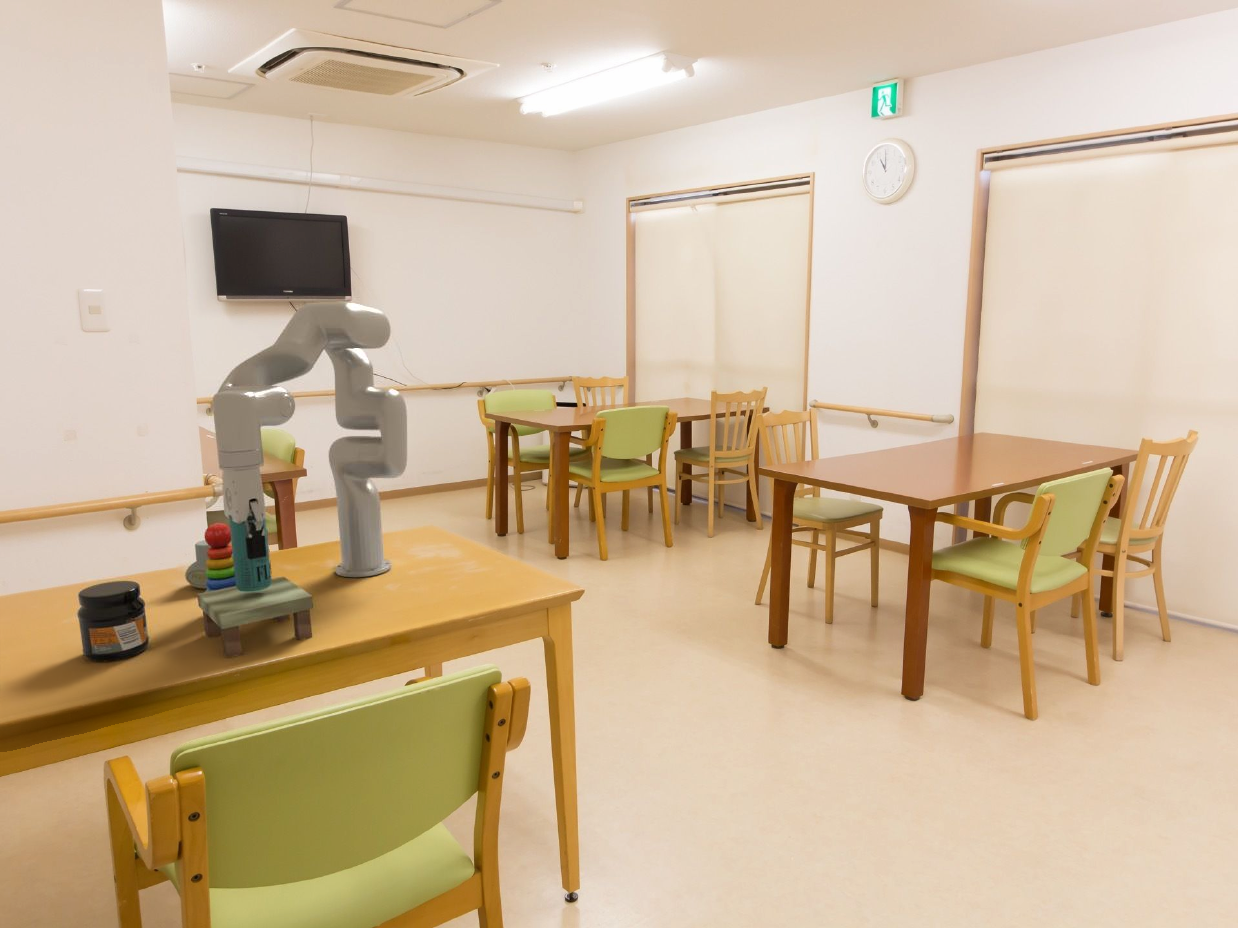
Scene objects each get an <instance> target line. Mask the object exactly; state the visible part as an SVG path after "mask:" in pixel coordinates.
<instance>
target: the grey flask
mask: <svg viewBox="0 0 1238 928" xmlns="http://www.w3.org/2000/svg"><path fill="white" fill-rule="evenodd" d="M209 548H211V546H209V545H208V544H207V542H206V541H205V539H204V540H199V541H198V542H196V543H195V544H194V549H195V560H196V561H195V562H194V561H193V562H192V563H191V564H190V565H189V566H188V567H187V569H186V570H185V572H184V573H185V574H184V576H185V580H186V582H187V583H189V584H190V585H191V586H192V587H195V588H199V589H201V590H204V589H207V588H208V586H207V585H206V580H207V579H208V578H209V577H207V575H206V570H207V569H208V567H207V566H206V561H207V560H208V559H209V557H208V556H207V550H208V549H209Z"/></svg>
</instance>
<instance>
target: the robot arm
mask: <svg viewBox="0 0 1238 928" xmlns="http://www.w3.org/2000/svg"><path fill="white" fill-rule="evenodd" d="M391 332H392V331H391V324H390V321H389V319H388V317H387V316H386V314H385V313H384V312H383V311H381V310H380V309H377V308H373V307H369V306H364V305H362V304H358V303H354V302H346V301H344V302H343V301H337V302H336V301H334V302H333V301H332V302H330V301H329V302H328V301H327V302H325V301H324V302H310V303H306V304H303V305H301V306H300V307H298V308H297V310H296V311H295V312H294V314H293V316H292V317H291V318H290V320H289V321H288V323H287V324H286V326H285V327H284V329H283V330H282V332H281V333H280V334H279V336H278V337H277V339H276V341H275V342H274V344H272V345H270V346H268V347H266V348H265V349H262V350H261V351H259V352H257V353H256V354H254V355H252V356H250V357H249V358H246V359H245V360H244V361H241V362H240V363H239V364H238V365H237V366H235V368H233V369H232V370H231V371H230V372H229V373H228V375H227V376H226V377H225V379H224V380H223V382H222V383H221V385H220V387H219V388H218V391H217V392H216V393H215V394H214V395H213V397H212V402H211V403H212V410H213V411H212V412H213V420H214V421H213V423H214V431H215V432H214V433H215V442H216V450H217V459H218V468H219V470H221V471H222V496H223V497H222V498H223V499H222V500H223V511H224V516H225V517H226V518H227V519H229V517H228V516H229V515H231V516H232V519H233V520H232V521H234V522H235V523H237V524H242V522H244V525H245V529H246V533H247V538H246V548H247V557H248V559H255V558H260V557H265V556H266V544H265V532H264V527H263V526H264V525H263V522H264V518H265V519H266V503H265V494H264V488H263V487H264V486H263V481H262V479H263V478H262V474H261V470H260V468H262V467H263V466H264V465H265V461H264V451H263V441H262V432H261V430H262V429H261V428H262V427H268V426H269V427H276V426H280V425H283V424H286V423H287V422H288V421H290V419H292V417H293V416H294V414H295V411H296V401H295V399H294V396H293V394H292V393H291V392H290V391H289V390H288V389H286V388H284V387H281V386H277V384H278V385H279V384H280V383H285V382H289V381H291V380H294V379H297V378H300V377H302V376H304V375H307V374H308V373H309V372H310V371H312V369H313V368H314V366H315V365H316V364H317V361H318V360H319V359H320V356H321V355H322V353H323V352H324V351H325V353H326V354H327V356H328V357H329V360H331V363H332V367H333V371H334V401H335V402H334V403H335V404H334V406H335V407H334V411H335V419H336V423H337V425H338V426H340V428H342V429H345V430H352V431H379V432H380V436H369V435H350V436H348V435H347V436H343V437H340V438H337V439H336V440H334V441H333V442H332V443H331V445H330V447H329V450H328V463H329V466H330V471H331V473H332V477H333V482H334V488H335V495H336V503H337V505H336V507H337V517H338V518H337V519H338V520H337V521H338V531H339V542H340V555H341V562H340V563H338V564H337V565H336V566H335V567H334V570H335V574H337V575H338V576H339V577H345V578H365V577H371V576H376V575H380V574H383V573H386V572H388V571H389V570H390V569H391V568H392V561H390V560H389V559H387V558H385V554H384V542H383V541H384V540H383V527H382V524H383V523H382V513H381V511H382V510H381V497H380V494H379V491H378V488H377V487H376V485H375V483H374V482H373V480H372V479H396V478H399V477H401V476H402V475H403V474H404V473H405V470H406V468H407V462H408V411H407V405H406V402H405V398H404V397H403V395H402V394H401V392H399V391H397V390H395V389H392V388H376V387H375V385H374V384H375V382H374V381H375V380H374V366H373V364H372V361H371V360H370V358H369V357H368V355H367V354H366V353H365V351H364V350H368V349H369V350H373V349H374V350H375V349H380V348H383V347H385V346H386V344H387V343H388V341H389V340H390V337H391ZM248 517H253V518H254V519H253V520H247V518H248ZM252 524H254V525H252ZM250 525H252V527H251V529H250Z"/></svg>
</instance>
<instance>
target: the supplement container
mask: <svg viewBox="0 0 1238 928" xmlns="http://www.w3.org/2000/svg"><path fill="white" fill-rule="evenodd" d="M140 587H141V586H140V584H139V583H138V582H136V581H131V580H117V581H116V580H115V581H107V582H102V583H97V584H94V585H92V586H91V585H90V586H88V587H85V588H83V589H81V590H80V591H79V592H78V595H77V596H78V597H77V598H78V604H79V605H80V607H79V608H78V610H77V612H76V614H77V616H76V617H77V618H78V622H79V630H80V639H81V643H82V644H81V645H82V646H81V647H82V654H83V656H84V658H86V659H87V660H89V661H92V662H97V661H98V662H100V661H101V662H103V661H107V662H114V661H120V660H124V658H125V659H128V658H131V657H133V656H136V655H138V654H140V653H141V652H143V651H144V650H146V649H147V648H148V646H149V645H150V636H149V632H148V625H147V623H148V622H147V616H146V609H145V608H146V602H145V600H144V599H143V598H142V597H141V588H140Z"/></svg>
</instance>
